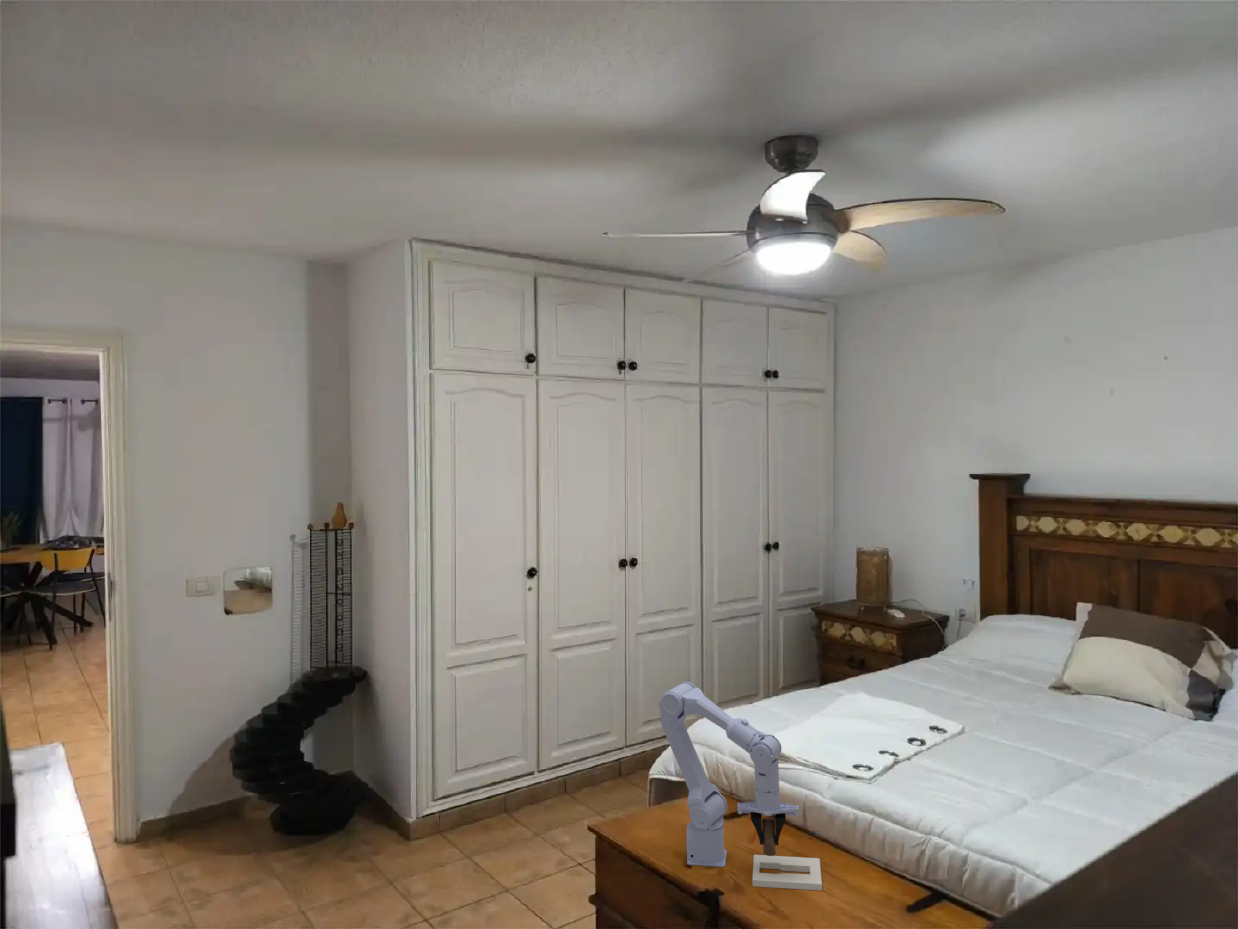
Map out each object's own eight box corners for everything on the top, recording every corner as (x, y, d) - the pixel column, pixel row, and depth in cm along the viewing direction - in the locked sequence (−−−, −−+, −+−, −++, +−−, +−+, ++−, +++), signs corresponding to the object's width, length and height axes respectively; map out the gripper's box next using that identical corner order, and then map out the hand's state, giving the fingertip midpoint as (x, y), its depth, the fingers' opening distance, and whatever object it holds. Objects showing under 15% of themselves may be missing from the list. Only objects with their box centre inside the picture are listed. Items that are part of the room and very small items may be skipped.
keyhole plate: (752, 886, 198) (752, 880, 198) (754, 860, 210) (753, 854, 210) (822, 890, 195) (821, 884, 195) (819, 864, 207) (819, 858, 207)
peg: (763, 855, 202) (762, 822, 202) (763, 849, 205) (762, 817, 204) (775, 856, 201) (774, 823, 201) (775, 850, 204) (774, 818, 204)
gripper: (736, 793, 200) (738, 849, 200) (798, 796, 197) (800, 853, 197) (737, 781, 207) (739, 835, 207) (797, 783, 204) (799, 838, 204)
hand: (769, 843), depth 203 cm, fingers closed on peg, 3 cm apart
